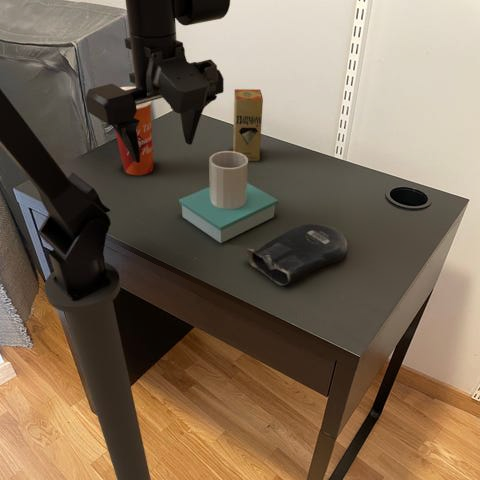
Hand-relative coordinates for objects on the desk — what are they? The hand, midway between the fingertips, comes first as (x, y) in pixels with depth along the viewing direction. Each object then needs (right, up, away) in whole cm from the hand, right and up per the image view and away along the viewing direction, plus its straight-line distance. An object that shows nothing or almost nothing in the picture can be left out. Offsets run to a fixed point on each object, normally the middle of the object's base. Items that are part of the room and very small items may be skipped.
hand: (163, 152), depth 70 cm
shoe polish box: (+12, +9, +28) cm, 32 cm away
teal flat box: (+9, -7, +12) cm, 16 cm away
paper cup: (-8, +5, +23) cm, 25 cm away
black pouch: (+21, -15, +4) cm, 26 cm away
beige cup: (+9, -5, +9) cm, 14 cm away
